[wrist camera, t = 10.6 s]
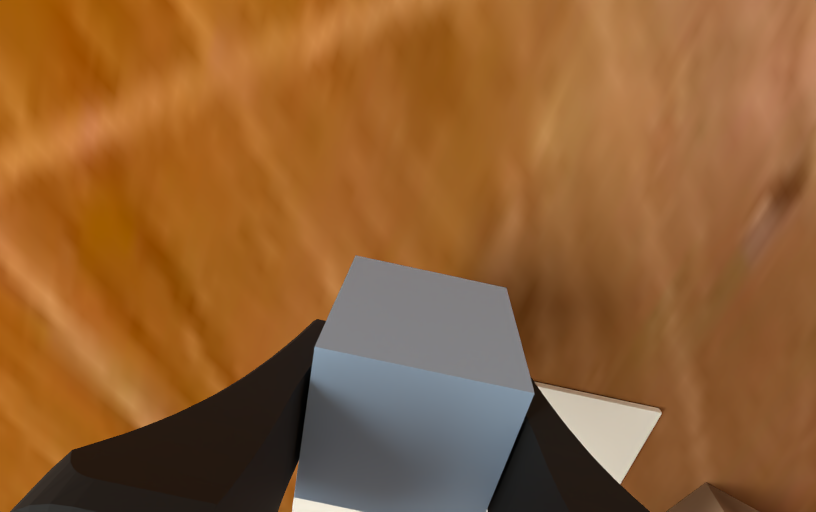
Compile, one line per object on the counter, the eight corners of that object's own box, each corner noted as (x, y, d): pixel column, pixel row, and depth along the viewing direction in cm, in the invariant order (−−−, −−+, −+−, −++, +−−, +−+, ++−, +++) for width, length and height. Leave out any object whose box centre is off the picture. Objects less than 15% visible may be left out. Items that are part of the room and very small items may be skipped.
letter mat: (291, 518, 26) (290, 523, 25) (317, 334, 20) (315, 339, 20) (562, 574, 26) (563, 581, 26) (659, 408, 20) (662, 413, 20)
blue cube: (335, 375, 15) (294, 497, 11) (355, 255, 13) (314, 346, 9) (467, 403, 15) (476, 535, 11) (506, 287, 13) (534, 393, 9)
